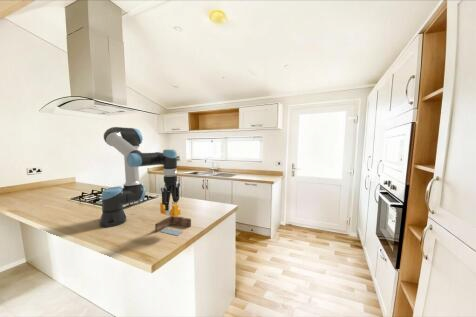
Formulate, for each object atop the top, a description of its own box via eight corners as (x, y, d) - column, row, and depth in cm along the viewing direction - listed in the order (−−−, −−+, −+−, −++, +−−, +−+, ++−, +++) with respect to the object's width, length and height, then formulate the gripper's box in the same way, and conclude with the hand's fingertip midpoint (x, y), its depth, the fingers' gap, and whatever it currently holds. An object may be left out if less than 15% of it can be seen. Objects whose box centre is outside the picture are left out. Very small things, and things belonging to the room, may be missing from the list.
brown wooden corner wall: (155, 231, 114) (155, 223, 113) (172, 222, 127) (172, 215, 127) (175, 236, 108) (175, 228, 108) (191, 226, 122) (190, 218, 121)
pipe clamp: (180, 214, 112) (180, 204, 112) (174, 217, 108) (174, 206, 108) (166, 211, 118) (165, 201, 117) (160, 213, 114) (160, 203, 113)
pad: (160, 231, 113) (160, 231, 113) (166, 228, 118) (166, 227, 118) (177, 235, 109) (177, 235, 109) (183, 232, 113) (183, 231, 113)
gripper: (164, 178, 101) (165, 220, 103) (185, 173, 118) (185, 209, 119) (153, 177, 104) (155, 218, 106) (175, 173, 120) (176, 208, 122)
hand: (171, 213), depth 113 cm, fingers closed on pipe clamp, 5 cm apart
